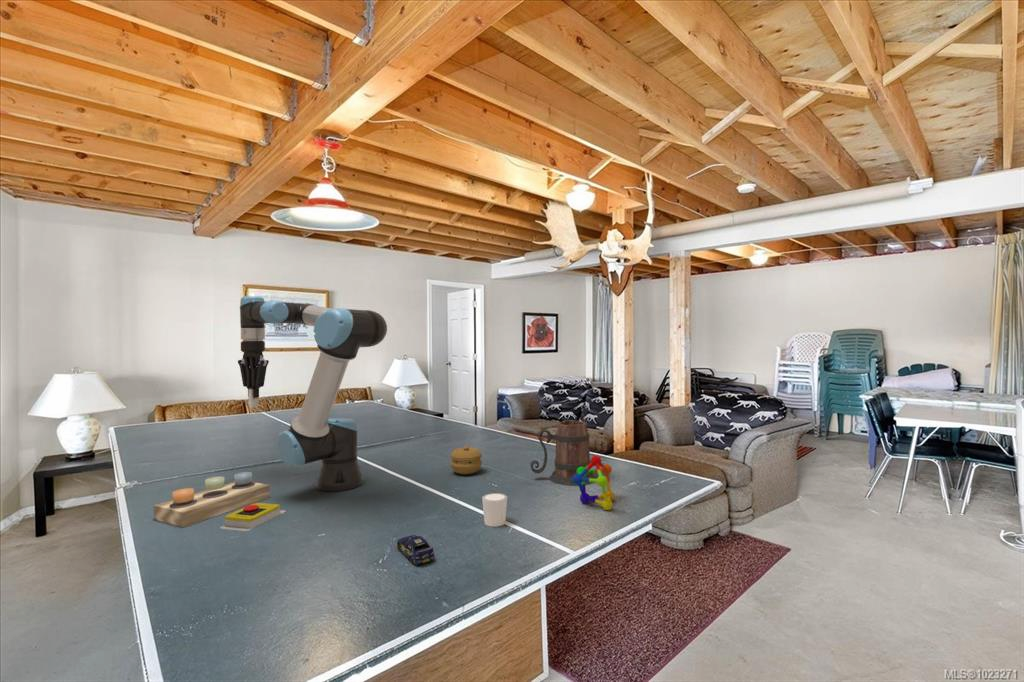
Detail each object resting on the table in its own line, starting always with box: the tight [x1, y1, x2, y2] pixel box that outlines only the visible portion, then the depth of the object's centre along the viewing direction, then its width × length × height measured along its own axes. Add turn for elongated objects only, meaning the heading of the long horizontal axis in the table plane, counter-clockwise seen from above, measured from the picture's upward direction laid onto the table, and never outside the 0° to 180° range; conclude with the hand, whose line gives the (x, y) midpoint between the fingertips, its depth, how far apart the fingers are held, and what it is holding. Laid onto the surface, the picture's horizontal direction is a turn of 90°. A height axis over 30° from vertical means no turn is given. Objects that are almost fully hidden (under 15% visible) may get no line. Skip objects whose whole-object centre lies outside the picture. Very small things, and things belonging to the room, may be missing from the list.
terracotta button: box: [172, 487, 195, 503], centre depth 133 cm, size 5×5×3 cm
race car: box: [396, 534, 436, 566], centre depth 110 cm, size 15×7×4 cm, turn 40°
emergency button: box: [219, 502, 286, 532], centre depth 132 cm, size 9×4×15 cm
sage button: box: [204, 475, 226, 490], centre depth 142 cm, size 5×5×3 cm
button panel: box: [153, 481, 271, 528], centre depth 142 cm, size 14×26×4 cm, turn 154°
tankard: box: [529, 419, 598, 487], centre depth 166 cm, size 24×17×20 cm
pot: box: [450, 445, 483, 475], centre depth 176 cm, size 12×12×10 cm
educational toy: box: [573, 454, 615, 511], centre depth 140 cm, size 16×13×15 cm
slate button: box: [233, 471, 253, 485], centre depth 150 cm, size 5×5×3 cm
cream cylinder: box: [481, 492, 508, 528], centre depth 127 cm, size 7×7×7 cm
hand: (253, 406), depth 166 cm, fingers closed
